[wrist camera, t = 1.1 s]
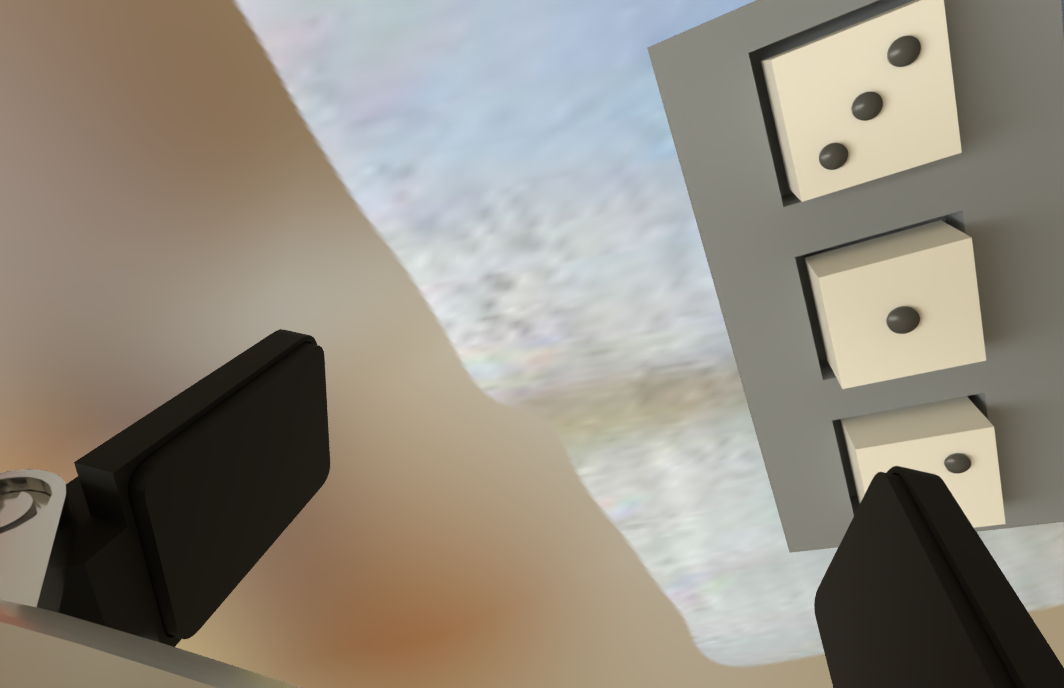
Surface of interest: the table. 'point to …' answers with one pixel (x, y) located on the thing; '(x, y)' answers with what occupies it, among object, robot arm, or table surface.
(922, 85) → the tile three
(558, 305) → the table surface
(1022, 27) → the tile board
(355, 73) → the table surface
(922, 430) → the tile two
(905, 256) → the tile one
